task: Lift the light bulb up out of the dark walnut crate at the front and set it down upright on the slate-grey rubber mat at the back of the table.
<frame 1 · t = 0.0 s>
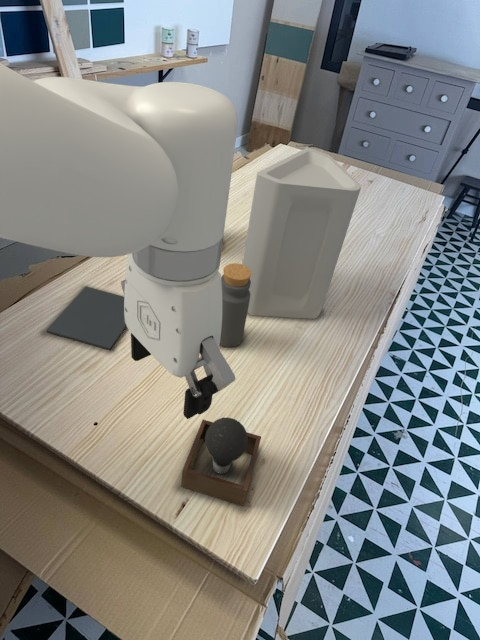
hand: (169, 381, 50), 20 cm above the worktop, tool pointing down, fingers open, 9 cm apart
crate: (220, 468, 66), on the worktop
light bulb: (220, 469, 66), resting in crate
mat: (97, 317, 86), on the worktop
bottle: (226, 337, 87), on the worktop
triangular concrete planter: (287, 300, 99), on the worktop
lantern: (194, 242, 111), on the worktop
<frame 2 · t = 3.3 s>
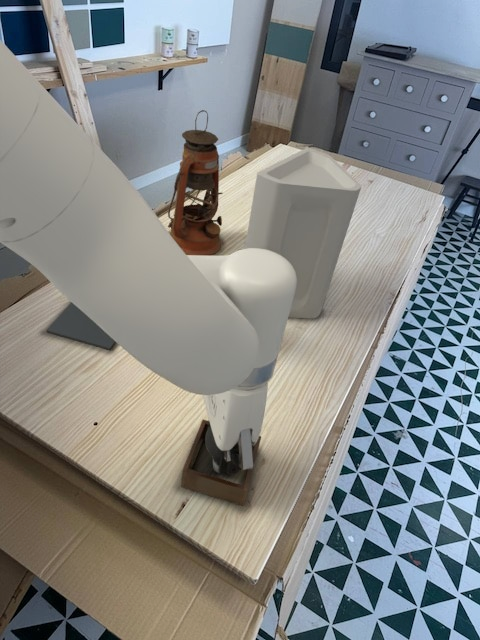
hand: (224, 448, 63), 5 cm above the worktop, tool pointing down, fingers closed on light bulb, 5 cm apart
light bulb: (220, 469, 66), resting in crate, touching gripper
everything else where it was.
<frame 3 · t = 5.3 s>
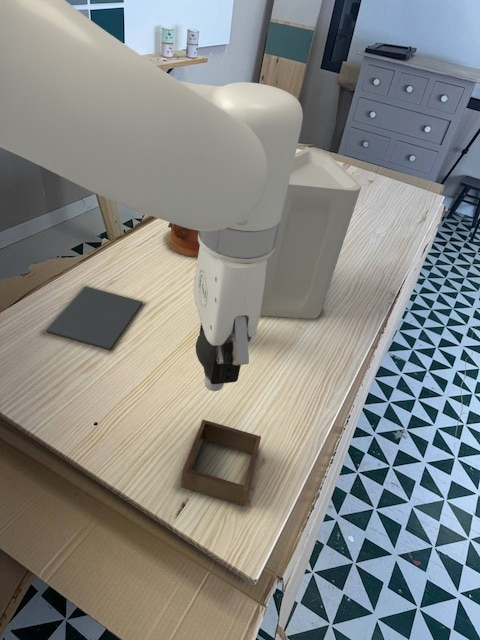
hand: (217, 360, 56), 19 cm above the worktop, tool pointing down, fingers closed on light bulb, 5 cm apart
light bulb: (213, 389, 59), point 14 cm above the worktop, touching gripper
everything else where it was.
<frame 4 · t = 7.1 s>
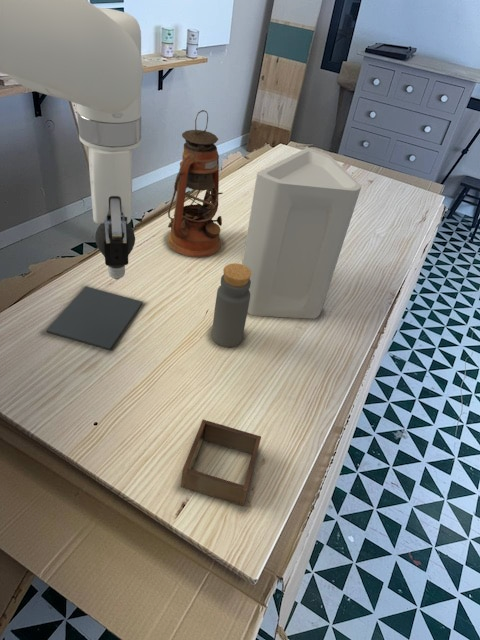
hand: (115, 251, 69), 20 cm above the worktop, tool pointing down, fingers closed on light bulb, 5 cm apart
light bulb: (116, 279, 73), point 14 cm above the worktop, touching gripper
everything else where it was.
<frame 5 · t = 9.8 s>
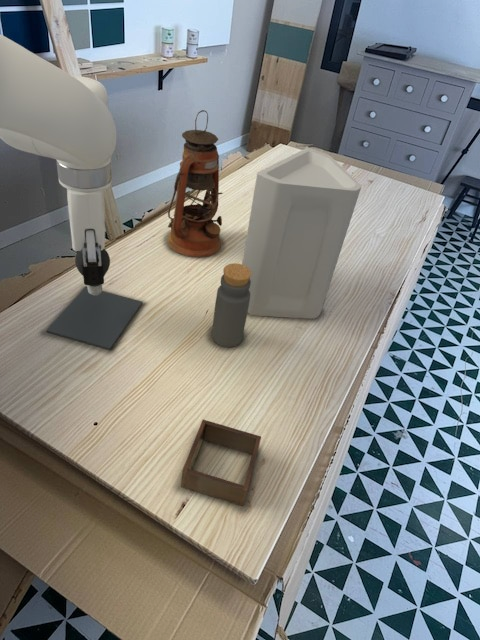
hand: (93, 271, 80), 10 cm above the worktop, tool pointing down, fingers closed on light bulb, 5 cm apart
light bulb: (95, 295, 83), point 5 cm above the worktop, touching gripper
everything else where it was.
when the fingers open (5 cm above the worktop, at t = 11.4 s): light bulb stays where it is, resting on mat.
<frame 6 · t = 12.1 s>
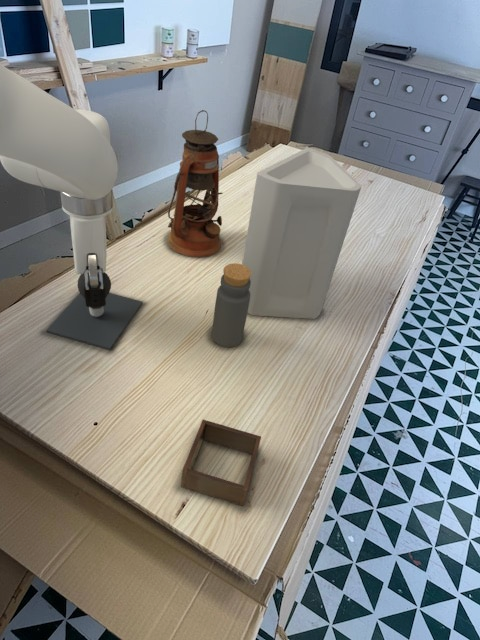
hand: (94, 288, 82), 7 cm above the worktop, tool pointing down, fingers open, 9 cm apart
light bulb: (97, 316, 86), resting on mat
everything else where it was.
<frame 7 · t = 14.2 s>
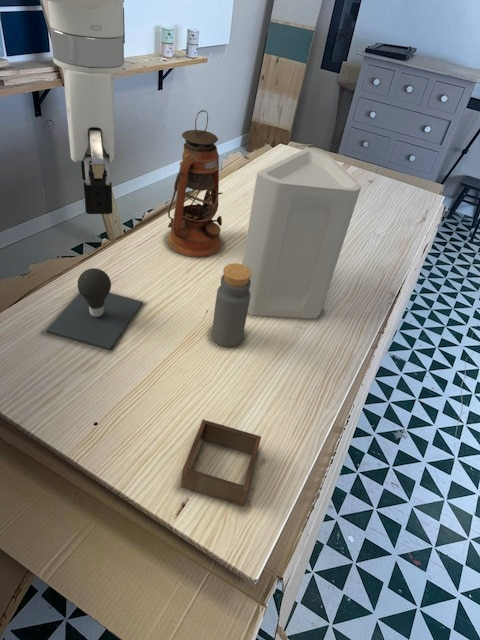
hand: (96, 195, 62), 29 cm above the worktop, tool pointing down, fingers open, 9 cm apart
nothing on the worktop moved.
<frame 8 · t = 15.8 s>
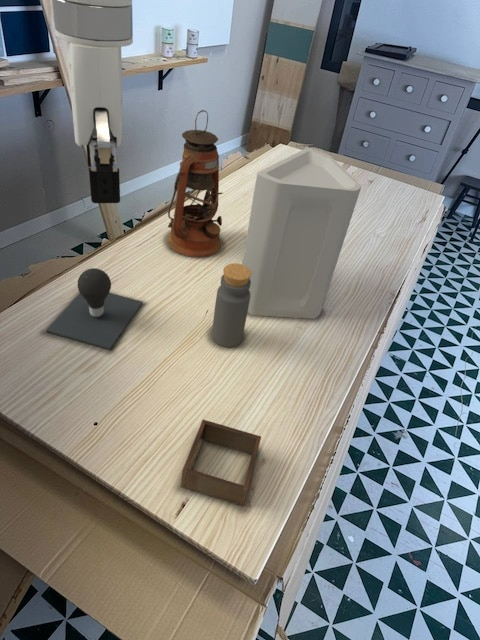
hand: (103, 183, 57), 32 cm above the worktop, tool pointing down, fingers open, 9 cm apart
nothing on the worktop moved.
at the end: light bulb inside the target area on the mat (0.1 cm from its centre), point 0.3 cm above the mat's base; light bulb touching mat; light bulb tilted 0° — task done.
